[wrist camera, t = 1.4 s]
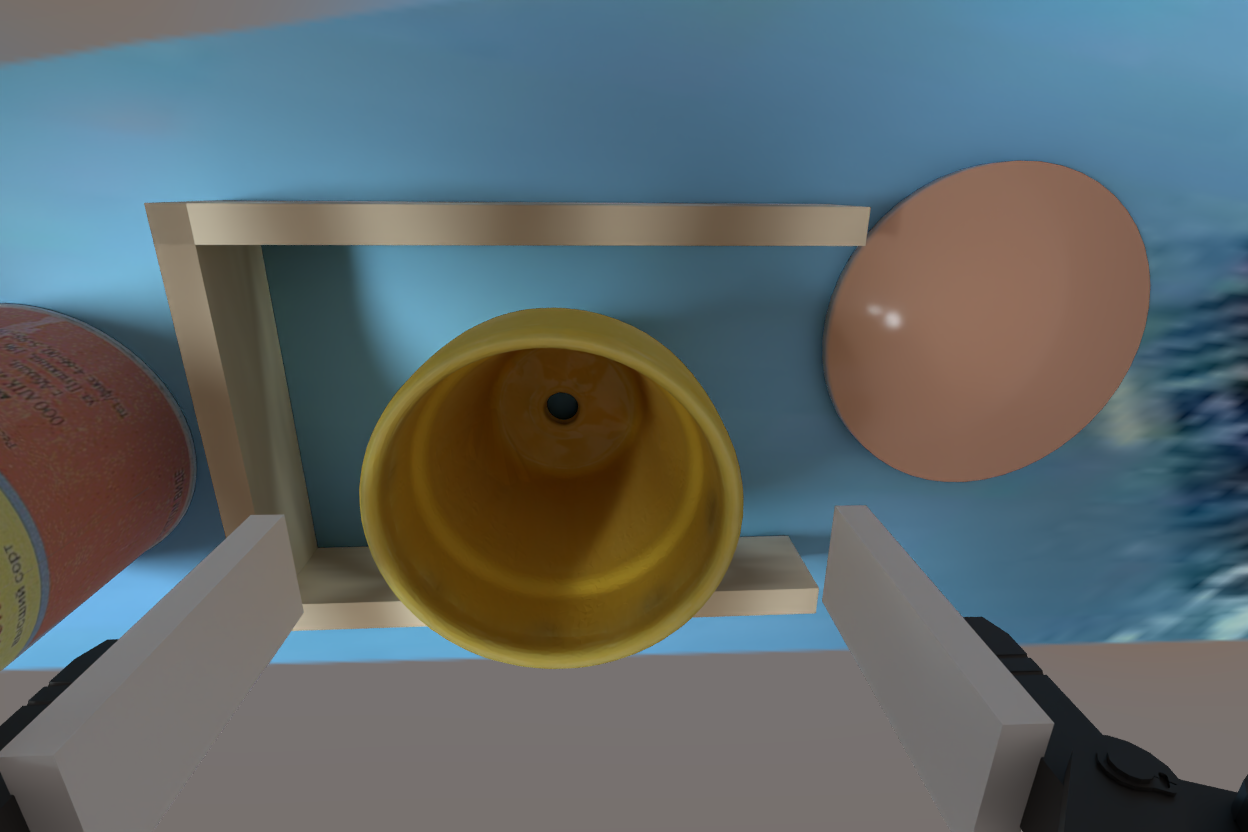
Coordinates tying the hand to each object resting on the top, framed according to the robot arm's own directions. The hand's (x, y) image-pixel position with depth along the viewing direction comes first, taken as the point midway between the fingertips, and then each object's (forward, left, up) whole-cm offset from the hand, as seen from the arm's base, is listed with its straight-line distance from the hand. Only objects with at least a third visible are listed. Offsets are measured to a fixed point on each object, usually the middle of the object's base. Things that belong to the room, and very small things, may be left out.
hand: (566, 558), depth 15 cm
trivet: (+15, +8, -11) cm, 20 cm away
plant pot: (0, 0, -12) cm, 12 cm away
